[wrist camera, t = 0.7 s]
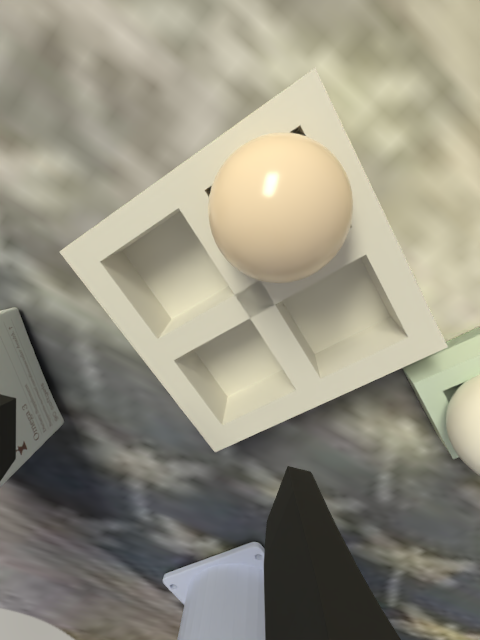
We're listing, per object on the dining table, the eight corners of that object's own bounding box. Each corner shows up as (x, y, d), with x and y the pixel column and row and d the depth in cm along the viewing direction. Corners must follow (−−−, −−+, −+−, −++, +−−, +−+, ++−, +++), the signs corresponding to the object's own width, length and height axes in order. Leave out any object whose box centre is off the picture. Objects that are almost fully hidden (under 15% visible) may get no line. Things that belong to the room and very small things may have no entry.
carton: (420, 320, 18) (448, 347, 15) (222, 415, 21) (215, 452, 18) (307, 88, 15) (314, 67, 12) (92, 239, 18) (59, 251, 15)
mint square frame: (532, 395, 19) (560, 419, 17) (436, 433, 20) (453, 459, 18) (499, 317, 17) (526, 334, 16) (399, 363, 19) (413, 383, 17)
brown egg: (360, 226, 15) (399, 249, 10) (257, 285, 16) (251, 328, 11) (302, 111, 13) (317, 80, 9) (195, 185, 15) (161, 190, 10)
